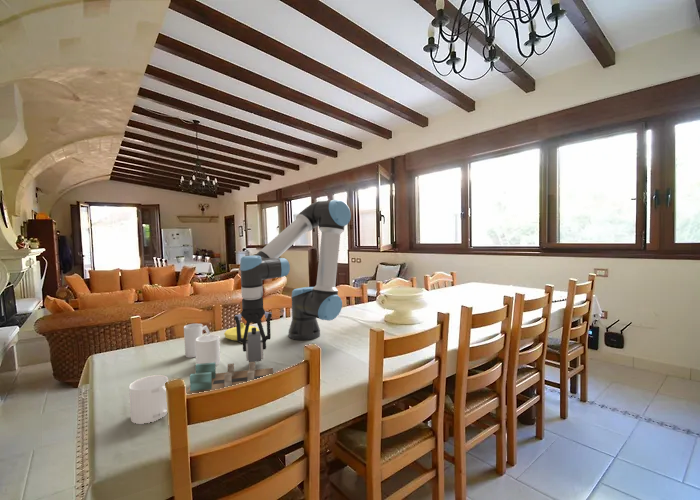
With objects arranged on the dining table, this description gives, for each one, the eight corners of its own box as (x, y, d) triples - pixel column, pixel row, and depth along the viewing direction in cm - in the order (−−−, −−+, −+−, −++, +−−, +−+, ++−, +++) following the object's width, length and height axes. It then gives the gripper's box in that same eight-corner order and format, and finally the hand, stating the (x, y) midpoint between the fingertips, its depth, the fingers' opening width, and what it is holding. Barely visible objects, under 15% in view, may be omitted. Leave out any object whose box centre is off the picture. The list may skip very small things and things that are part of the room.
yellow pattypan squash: (257, 331, 164) (257, 317, 163) (260, 341, 149) (260, 326, 149) (224, 335, 158) (223, 320, 158) (224, 345, 144) (223, 330, 143)
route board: (273, 370, 118) (272, 354, 118) (273, 388, 105) (272, 370, 104) (195, 378, 112) (194, 361, 112) (184, 398, 99) (184, 379, 98)
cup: (204, 370, 118) (203, 343, 117) (187, 362, 125) (186, 336, 125) (224, 363, 125) (223, 337, 124) (207, 356, 132) (206, 331, 131)
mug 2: (189, 359, 128) (188, 329, 128) (181, 355, 133) (180, 326, 132) (213, 352, 136) (212, 323, 135) (206, 348, 140) (205, 320, 140)
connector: (261, 356, 125) (260, 325, 124) (261, 360, 121) (259, 329, 120) (249, 357, 124) (247, 326, 123) (248, 362, 120) (247, 330, 119)
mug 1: (123, 418, 88) (122, 385, 88) (157, 403, 96) (156, 372, 96) (149, 432, 82) (147, 396, 82) (182, 414, 90) (181, 381, 90)
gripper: (276, 293, 126) (278, 352, 128) (228, 297, 122) (231, 357, 124) (276, 298, 119) (279, 359, 121) (225, 301, 115) (229, 365, 117)
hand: (255, 358), depth 123 cm, fingers closed on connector, 4 cm apart
